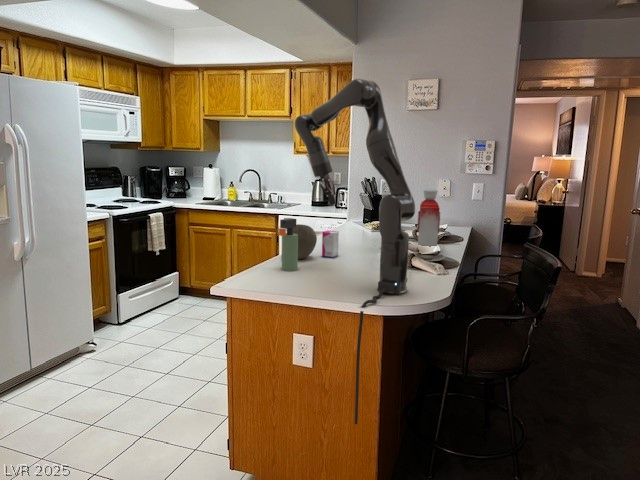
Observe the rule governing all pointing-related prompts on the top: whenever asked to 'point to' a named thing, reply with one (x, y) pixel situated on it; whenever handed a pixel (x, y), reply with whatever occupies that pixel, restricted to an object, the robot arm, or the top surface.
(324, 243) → the supplement box
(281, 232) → the trigger
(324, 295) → the top surface
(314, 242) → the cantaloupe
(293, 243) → the spray bottle
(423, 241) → the bottle
